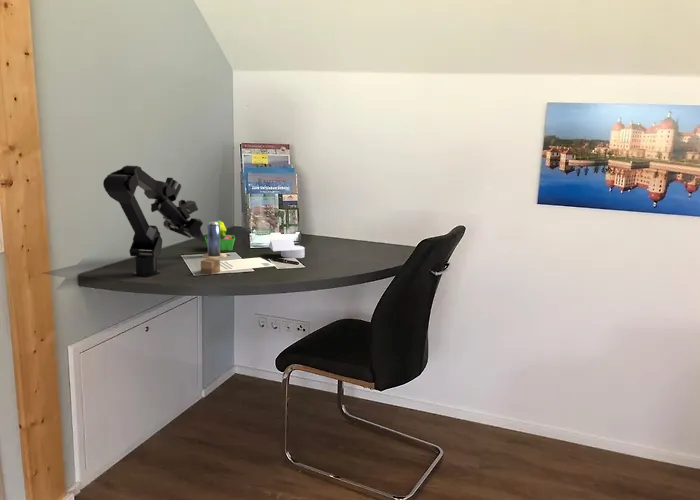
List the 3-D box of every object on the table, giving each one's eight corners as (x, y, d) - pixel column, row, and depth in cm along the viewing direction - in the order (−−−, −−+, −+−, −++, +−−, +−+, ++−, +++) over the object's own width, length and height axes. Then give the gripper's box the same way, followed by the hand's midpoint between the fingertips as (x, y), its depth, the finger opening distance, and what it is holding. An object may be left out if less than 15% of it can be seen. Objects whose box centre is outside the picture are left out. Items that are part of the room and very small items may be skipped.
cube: (211, 275, 208) (211, 262, 207) (200, 273, 210) (200, 260, 209) (220, 272, 212) (219, 259, 211) (209, 271, 214) (209, 258, 213)
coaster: (217, 260, 230) (217, 258, 229) (197, 257, 233) (197, 256, 233) (231, 255, 238) (231, 254, 237) (211, 253, 241) (211, 251, 241)
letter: (219, 272, 212) (219, 271, 212) (205, 263, 225) (205, 262, 225) (276, 266, 223) (276, 265, 223) (260, 258, 235) (260, 257, 235)
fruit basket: (205, 252, 243) (204, 223, 241) (205, 247, 251) (204, 219, 249) (235, 251, 246) (235, 223, 243) (234, 247, 254) (234, 219, 252)
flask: (217, 256, 233) (217, 223, 230) (206, 256, 233) (205, 223, 231) (222, 254, 237) (221, 221, 235) (210, 253, 238) (210, 221, 235)
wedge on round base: (273, 259, 233) (307, 258, 238) (273, 242, 232) (307, 240, 236) (268, 254, 242) (301, 253, 246) (268, 237, 240) (301, 236, 245)
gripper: (197, 196, 215) (225, 225, 225) (170, 191, 228) (197, 218, 238) (177, 220, 211) (206, 249, 221) (150, 213, 224) (179, 241, 234)
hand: (197, 238), depth 228 cm, fingers open, 9 cm apart
